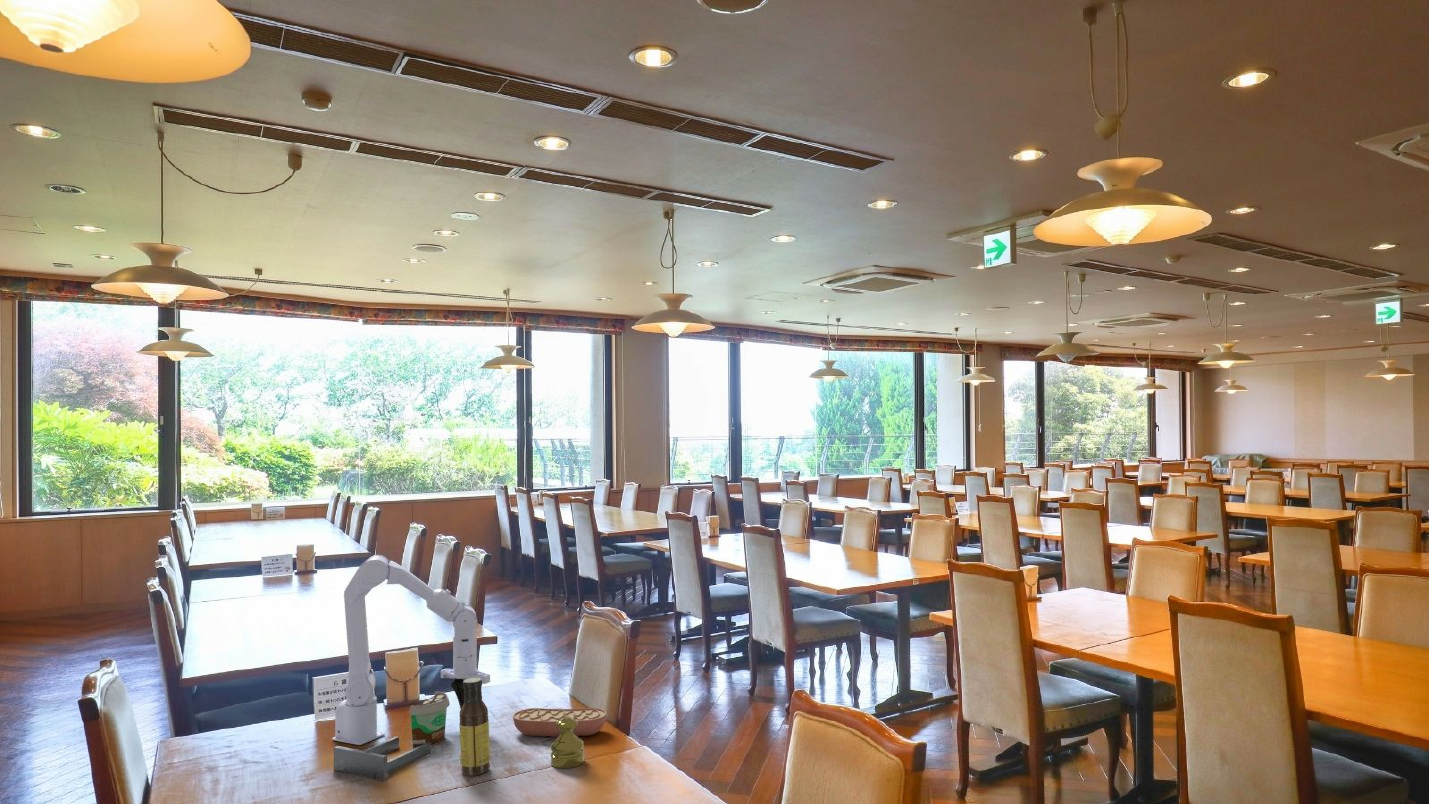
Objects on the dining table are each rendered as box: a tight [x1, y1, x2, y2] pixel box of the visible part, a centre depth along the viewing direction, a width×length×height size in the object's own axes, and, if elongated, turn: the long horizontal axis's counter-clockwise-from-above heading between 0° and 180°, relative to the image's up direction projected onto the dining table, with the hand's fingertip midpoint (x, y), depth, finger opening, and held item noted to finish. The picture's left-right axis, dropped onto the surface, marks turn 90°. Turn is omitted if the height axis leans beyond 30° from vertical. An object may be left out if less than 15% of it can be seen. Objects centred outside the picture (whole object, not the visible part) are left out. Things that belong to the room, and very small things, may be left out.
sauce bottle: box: [458, 678, 491, 777], centre depth 187 cm, size 6×6×20 cm
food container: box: [408, 691, 450, 748], centre depth 206 cm, size 12×6×10 cm, turn 168°
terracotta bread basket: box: [512, 707, 607, 738], centre depth 209 cm, size 23×10×5 cm, turn 87°
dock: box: [333, 736, 432, 782], centre depth 192 cm, size 15×16×5 cm
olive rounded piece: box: [550, 717, 585, 769], centre depth 191 cm, size 7×7×10 cm
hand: (465, 709), depth 216 cm, fingers closed
